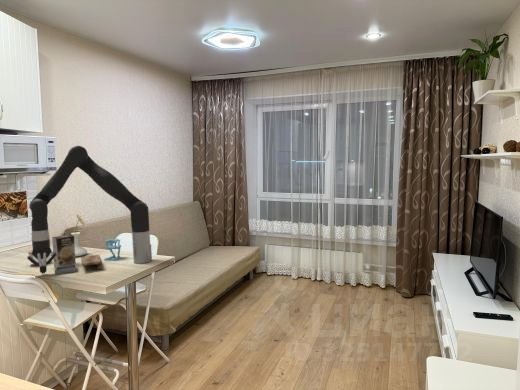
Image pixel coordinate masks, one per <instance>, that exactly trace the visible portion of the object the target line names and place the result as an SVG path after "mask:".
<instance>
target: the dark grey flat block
mask: <svg viewBox="0 0 520 390" xmlns="http://www.w3.org/2000/svg"><path fill="white" fill-rule="evenodd" d="M72 273H78V263H76V264H73V265H66V266H58V267H55V266H54V275H55V276H58V275H59V276H60V275H65V274H72Z"/></svg>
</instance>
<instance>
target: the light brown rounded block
mask: <svg viewBox="0 0 520 390" xmlns="http://www.w3.org/2000/svg"><path fill="white" fill-rule="evenodd" d="M80 259H81V266H84V267H85V266H90V265H96V267H97V270H99V271H103V261H102V258H101V255H100V254H95V255H94V254H93V255H87V256H86V255H85V256H80Z"/></svg>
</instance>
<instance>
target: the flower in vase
mask: <svg viewBox="0 0 520 390" xmlns="http://www.w3.org/2000/svg"><path fill="white" fill-rule="evenodd" d="M76 217H77V219H78V220H77V222H76V224H75V227H74V229H73V230H72V231H74V232H71V233H70V235H73V236H74V243H75V257H82V256H84V255H86V254H88V250H87V249H86V248H85V247H83V246H81V244H79V236H80V234H81V231H80V232H77V230H78V231H79V230H80V227H79V226H78V223H80V224H82V225H83V226H85V224H86V223H85V222H84V220H83V219H82V217H81V216H80V215H79V214H78V213H76Z"/></svg>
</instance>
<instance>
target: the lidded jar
mask: <svg viewBox="0 0 520 390" xmlns="http://www.w3.org/2000/svg"><path fill="white" fill-rule="evenodd" d="M32 251H33V249H31V250H28V252H27V253H28V256H30V255H31V254H32ZM50 258H51V253H50V255H49V256H48V258H46V262H47V261H48V260H49V259H50ZM33 259H34V260H35V261H36V262H38V259H36V258H35V257H34V256H33ZM30 263H31V264H33V263H32V262H31V261H30ZM38 263H39V262H38ZM42 265H43V259H42Z"/></svg>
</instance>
